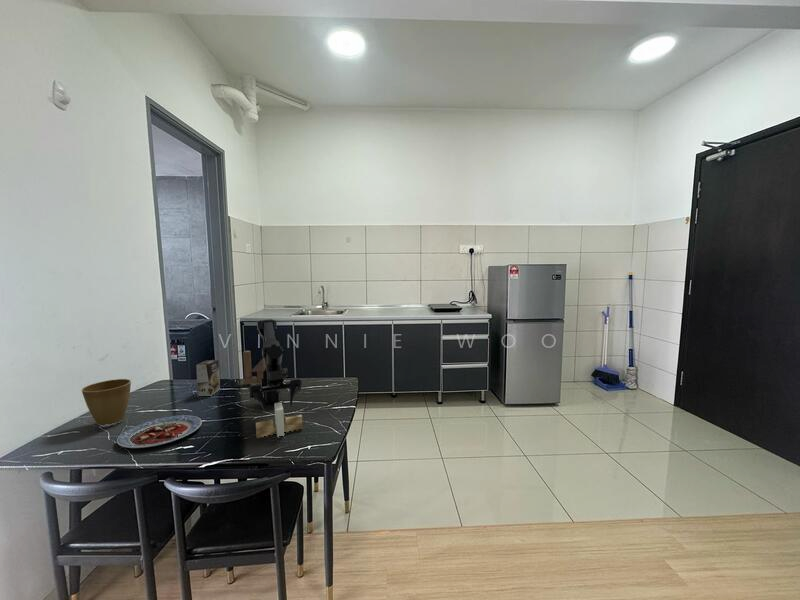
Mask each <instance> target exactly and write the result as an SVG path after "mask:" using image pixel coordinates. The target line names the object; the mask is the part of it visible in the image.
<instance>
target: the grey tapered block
mask: <svg viewBox="0 0 800 600" xmlns="http://www.w3.org/2000/svg"><path fill="white" fill-rule="evenodd" d="M284 414H285V413H284V406H283V403H282V402H280V401H279V402H278V403H274V426H276V428H277V434H276V437H278V438H280V437H279V436H283V437H285V436H284V435H286V434H285V433H284V424H285V417H284V416H285V415H284Z"/></svg>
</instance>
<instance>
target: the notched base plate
mask: <svg viewBox="0 0 800 600" xmlns="http://www.w3.org/2000/svg"><path fill="white" fill-rule="evenodd" d="M284 420H285V423H284V432H286V433H290V432H289V431H291V432H295V431H294V430H296V431H300V430H299V429H301V430H303V429H304V427H303V415H302V414H297V415H291V416H286V417H284ZM255 430H256V431H255V433H256V434H255V435H256V439H260V437H261V438H265V437H264V436H266V437H269V436H268V435H271V436H274V435H273V434H276V435H277V428H276V426H275V425H274V420H273V419H269V420H263V421H262V420H261V421H257V422H255Z"/></svg>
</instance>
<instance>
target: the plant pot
mask: <svg viewBox="0 0 800 600" xmlns="http://www.w3.org/2000/svg"><path fill="white" fill-rule="evenodd" d="M131 381H132V380H130V379H128V378H118V379H117V378H116V379H109V380H103V381H99V382H96V383H92V384H89V385H87V386H85V387H83V388H82V389H81V392H82V393H81V394H82V396H83V399H84V401H85V404H86V407H87V408H88V411H89V413H90V414H91V416H92V418H93V420H94V421H95V423H96V424H97V425H98V424H100V425H105V424H112V423H116V422H119V421H121V420H123V421H124V420H125V416H126V412H127V410H128V405H129V400H130V394H131V383H132V382H131Z"/></svg>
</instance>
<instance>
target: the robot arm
mask: <svg viewBox="0 0 800 600" xmlns="http://www.w3.org/2000/svg"><path fill="white" fill-rule="evenodd" d="M256 327H257V328H256V330H257V331H258V334H259V336H260V337H261V339H262V340H263V348H261V355H262V358H264V359H265V370H264V372H263V376H262V377H263V378H261V384H256V385H249V397H250V398H251V399H253V400H257V401H258V403H259V404H260V406H261V408H262V409H263V411H264V412H266V405H265V404H272V405H273V404H274V403H280V401H281V400H282V396H281V394H282V393H281V390H287V389H289V407H290V408H292V406H293V401H294V398H295V394H298V392H300V391H301V390H302V384H303V383H302V379H300V378H294V379H290V381H289V382H290V383H289V382H288V383H284V382H285V379H284V378H286V377H288V376H289V368H288V367H284V368H282V360H283V355H284V354H285V350H284V349H283V347H282V346H281V344H280V342H279V340H277V339H276V333H275V332H276V329H277V328H278V326H277V320H275V319H272V318H271V319H270V318H269V319H260V320H259V321H257V323H256Z"/></svg>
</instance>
